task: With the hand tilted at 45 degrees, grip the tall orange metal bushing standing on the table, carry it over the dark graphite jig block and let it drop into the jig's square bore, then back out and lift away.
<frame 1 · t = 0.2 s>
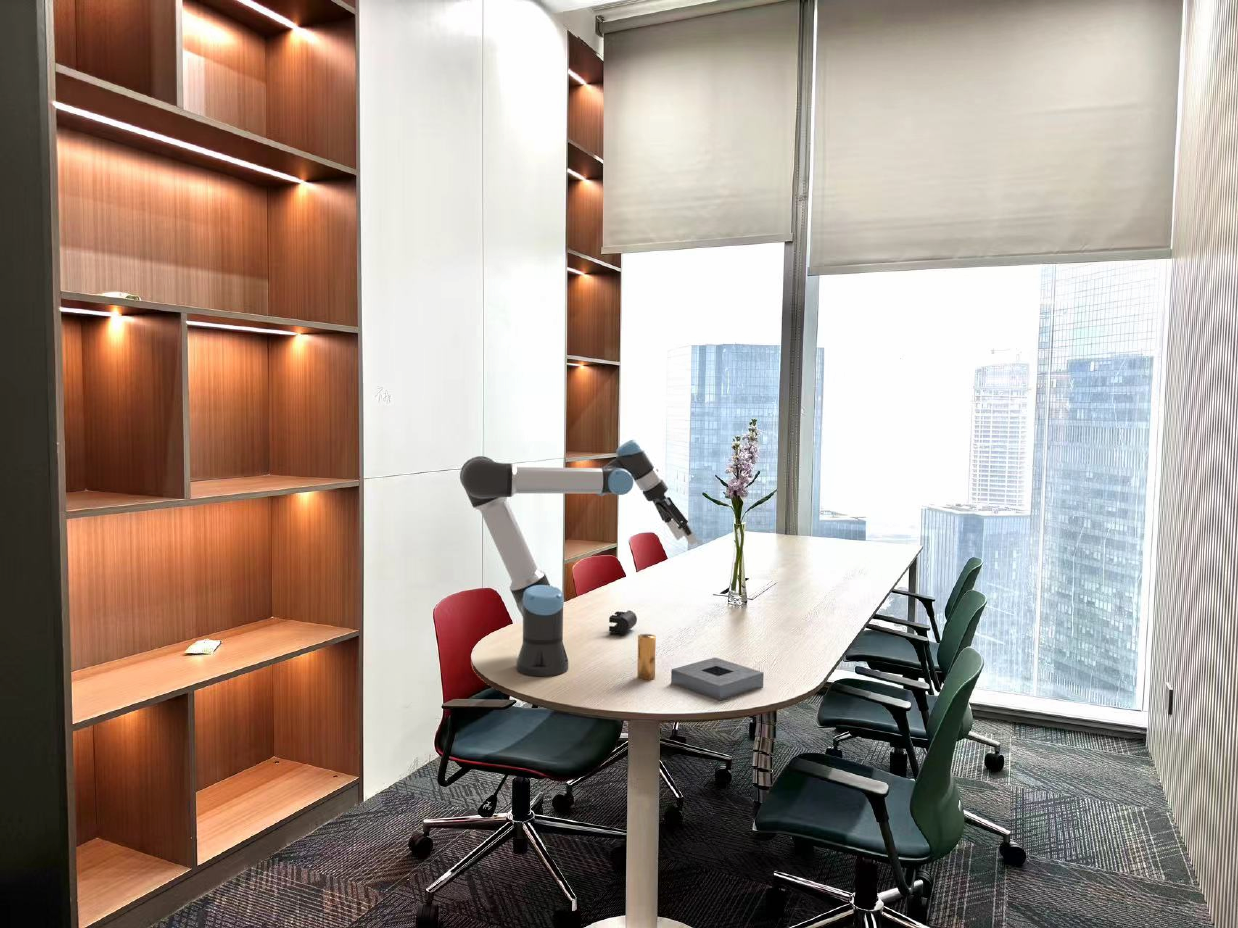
hand: (687, 540, 264), 35 cm above the table, tool tilted 35°, fingers open, 13 cm apart
jig: (717, 684, 231), on the table
bushing: (646, 677, 237), on the table
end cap: (622, 633, 284), on the table
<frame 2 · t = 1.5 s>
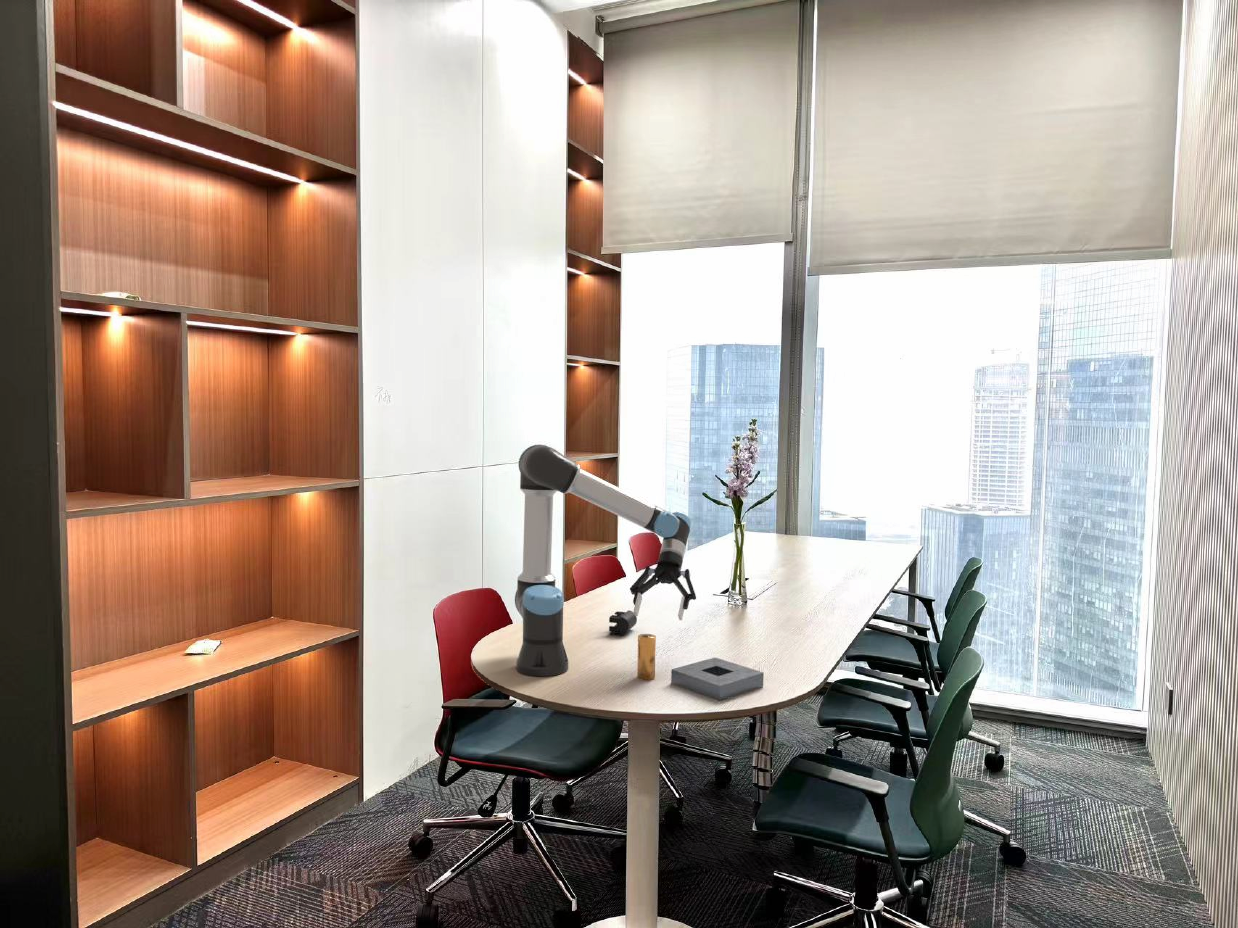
hand: (657, 615, 246), 15 cm above the table, tool tilted 45°, fingers open, 13 cm apart
nothing on the table moved.
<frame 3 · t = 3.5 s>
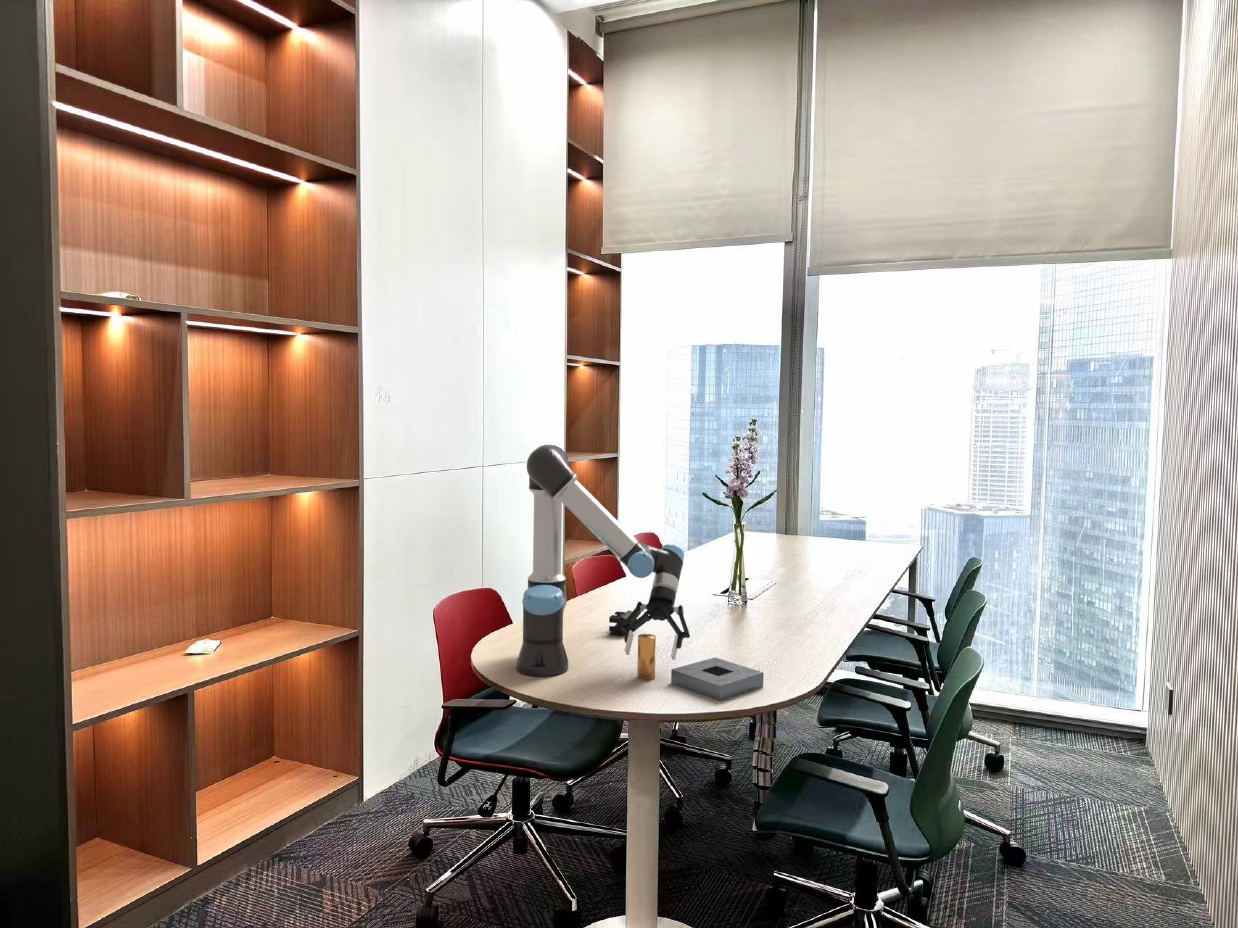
hand: (649, 655, 236), 7 cm above the table, tool tilted 45°, fingers open, 13 cm apart
nothing on the table moved.
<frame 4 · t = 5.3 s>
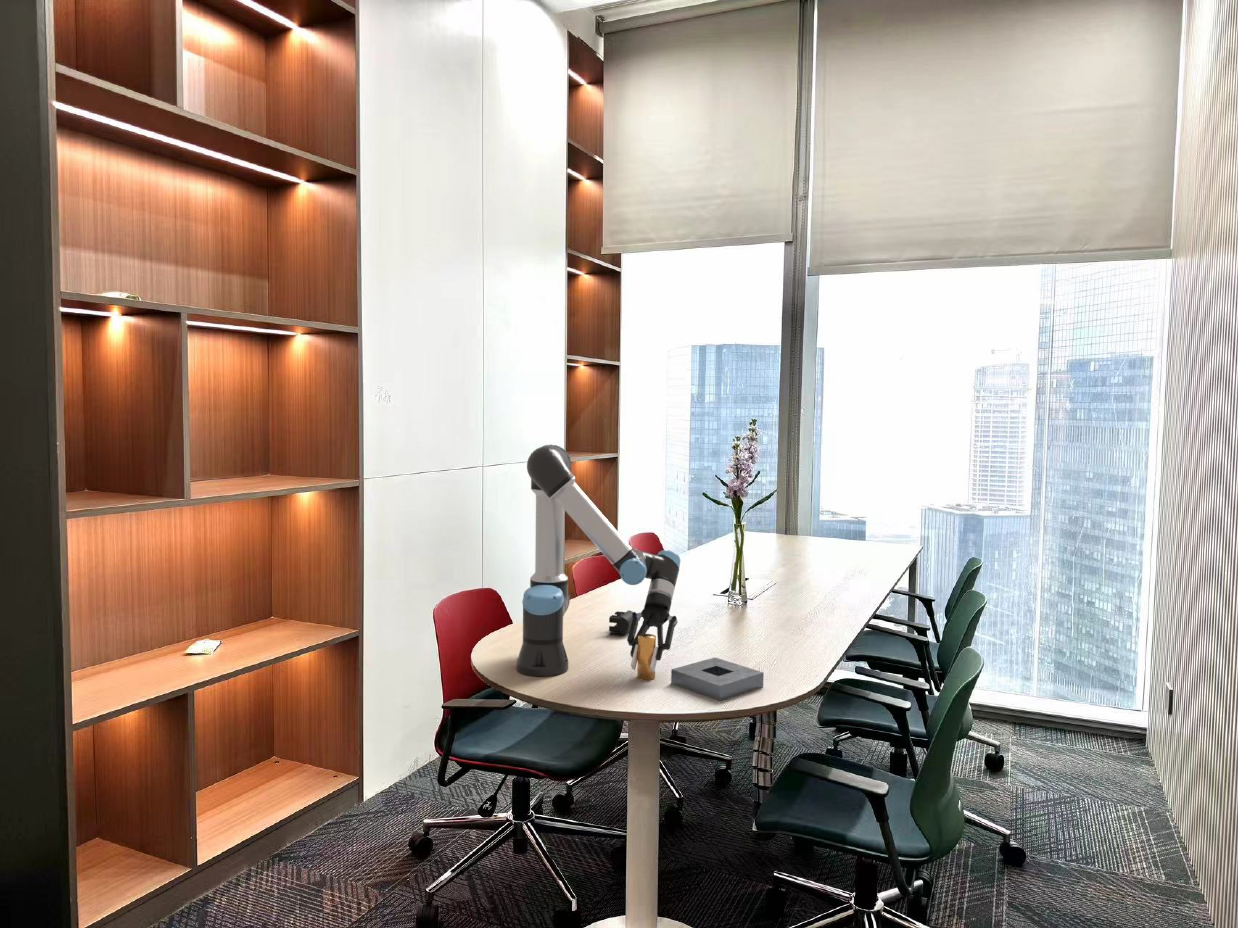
hand: (642, 668, 233), 4 cm above the table, tool tilted 45°, fingers closed on bushing, 5 cm apart
bushing: (646, 677, 237), on the table, touching gripper
everything else where it was.
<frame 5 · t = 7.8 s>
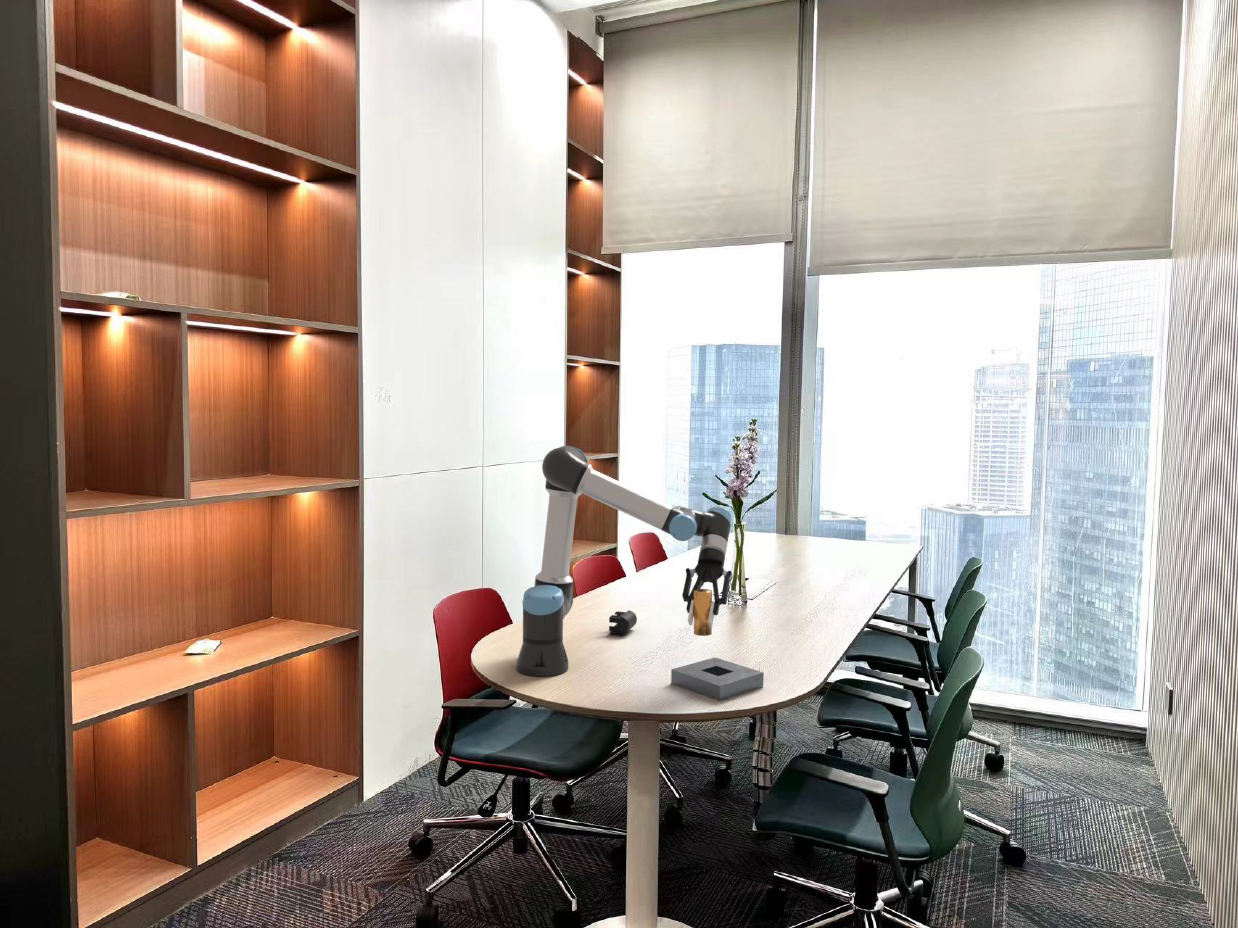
hand: (700, 623, 228), 18 cm above the table, tool tilted 45°, fingers closed on bushing, 5 cm apart
bushing: (702, 633, 232), point 14 cm above the table, touching gripper
everything else where it was.
when the fingers open (9 cm above the table, at t = 10.5 s): bushing drops 5 cm, resting in jig.
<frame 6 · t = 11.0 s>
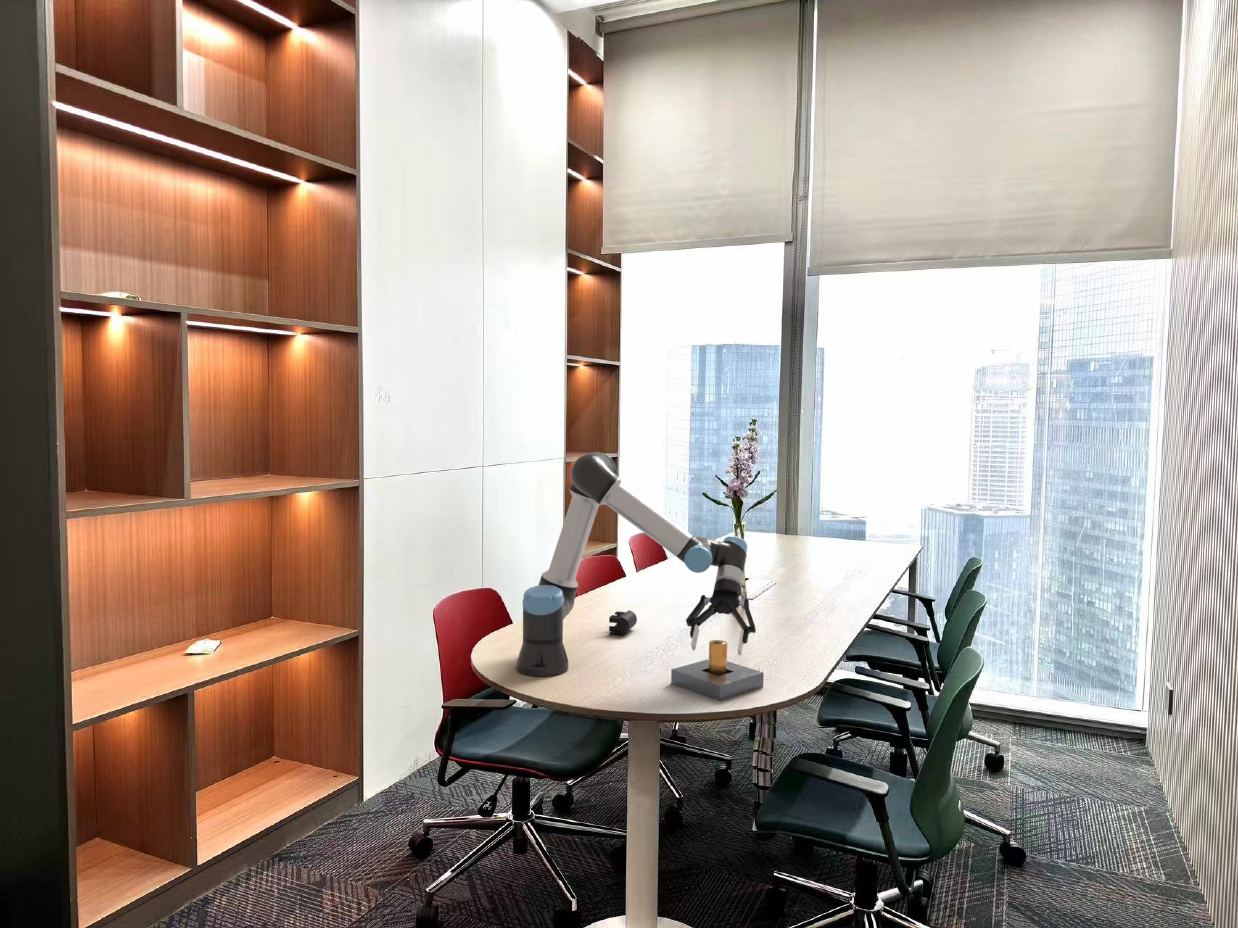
hand: (716, 650, 228), 10 cm above the table, tool tilted 45°, fingers open, 12 cm apart
bushing: (717, 684, 231), resting in jig
everything else where it was.
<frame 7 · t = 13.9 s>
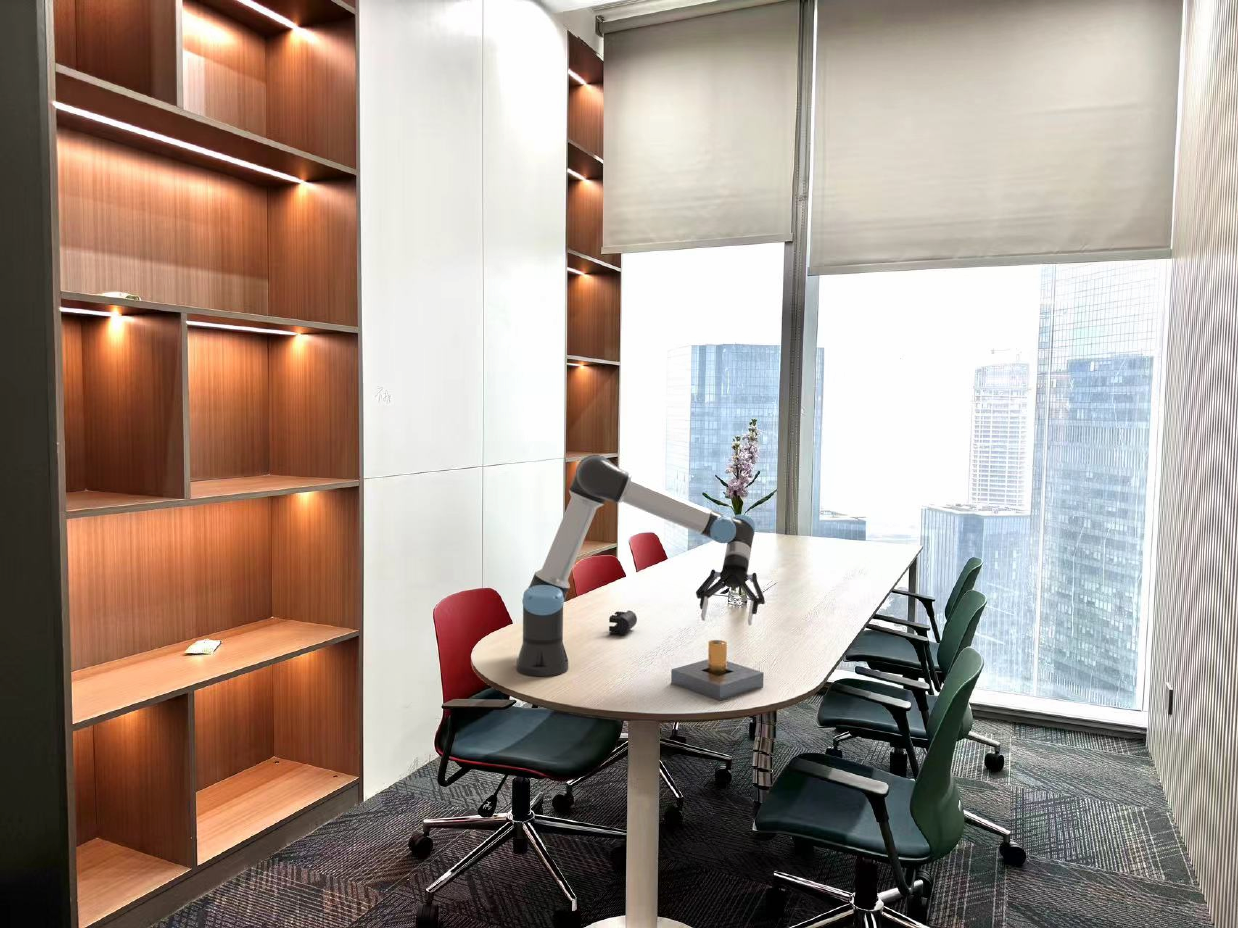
hand: (725, 620, 240), 16 cm above the table, tool tilted 45°, fingers open, 13 cm apart
nothing on the table moved.
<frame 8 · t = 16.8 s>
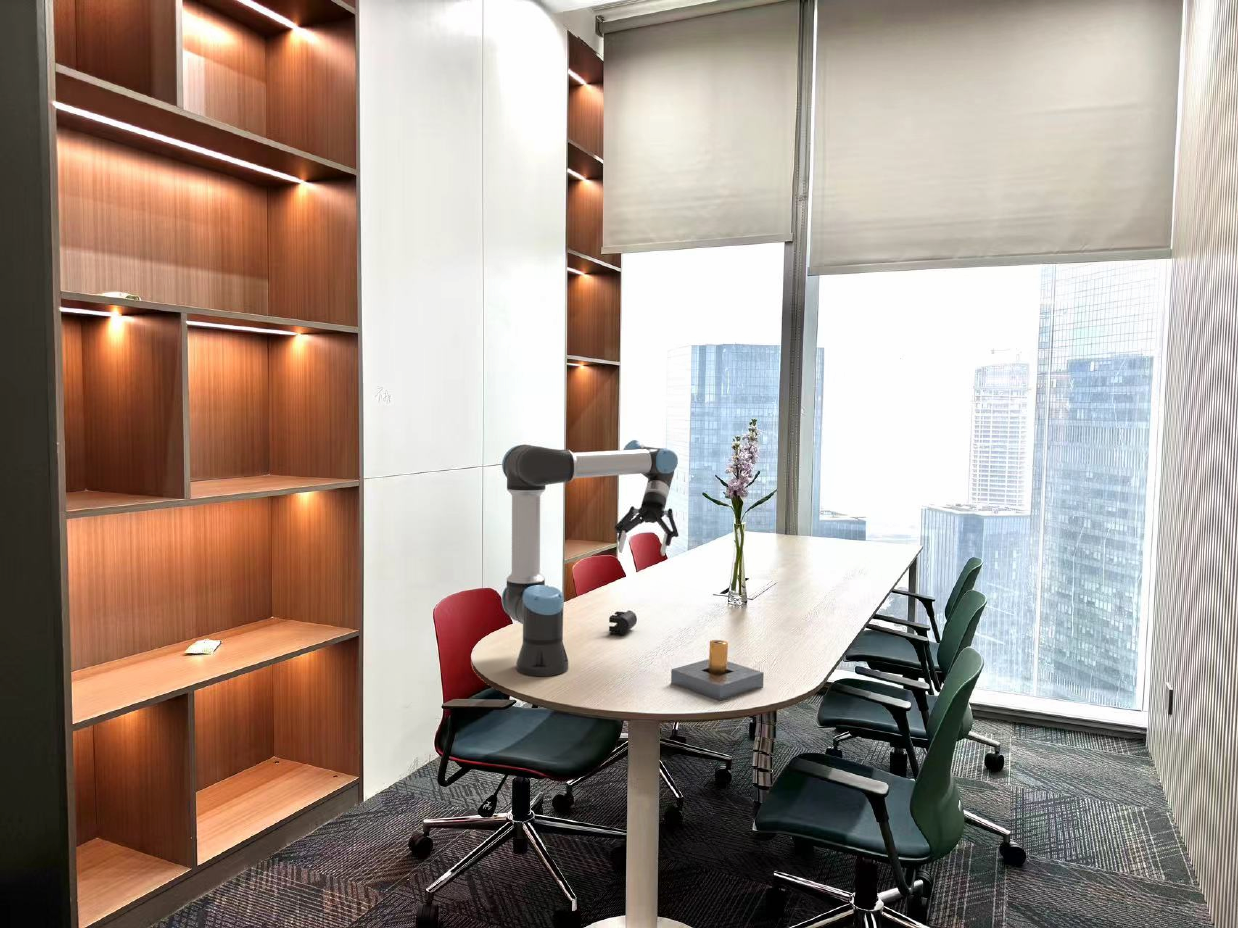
hand: (640, 551, 254), 33 cm above the table, tool tilted 45°, fingers open, 13 cm apart
nothing on the table moved.
at the end: bushing 0.1 cm off-centre on the jig, point 0.0 cm above the jig's base; bushing tilted 1°; the gripper is holding nothing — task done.
